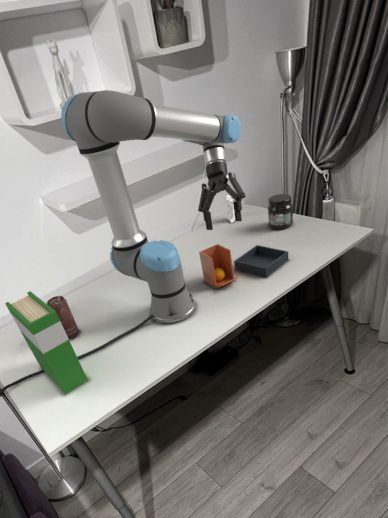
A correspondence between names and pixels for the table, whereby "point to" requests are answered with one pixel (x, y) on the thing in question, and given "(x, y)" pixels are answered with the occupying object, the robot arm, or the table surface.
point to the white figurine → (230, 208)
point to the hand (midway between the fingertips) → (223, 225)
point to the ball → (219, 274)
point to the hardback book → (48, 341)
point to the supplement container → (280, 211)
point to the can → (64, 316)
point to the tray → (261, 261)
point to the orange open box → (216, 265)
